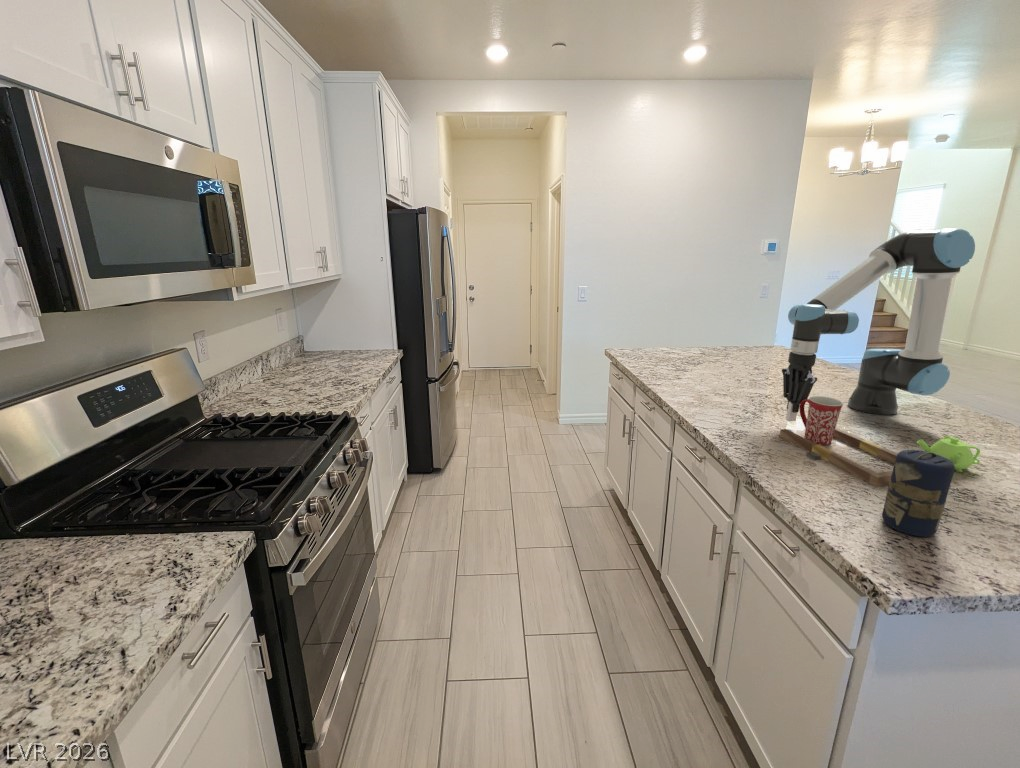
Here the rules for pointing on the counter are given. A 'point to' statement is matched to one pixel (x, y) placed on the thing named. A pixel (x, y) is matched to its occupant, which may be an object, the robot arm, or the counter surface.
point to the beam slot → (856, 469)
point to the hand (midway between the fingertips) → (790, 420)
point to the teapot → (953, 452)
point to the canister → (917, 492)
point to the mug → (820, 418)
